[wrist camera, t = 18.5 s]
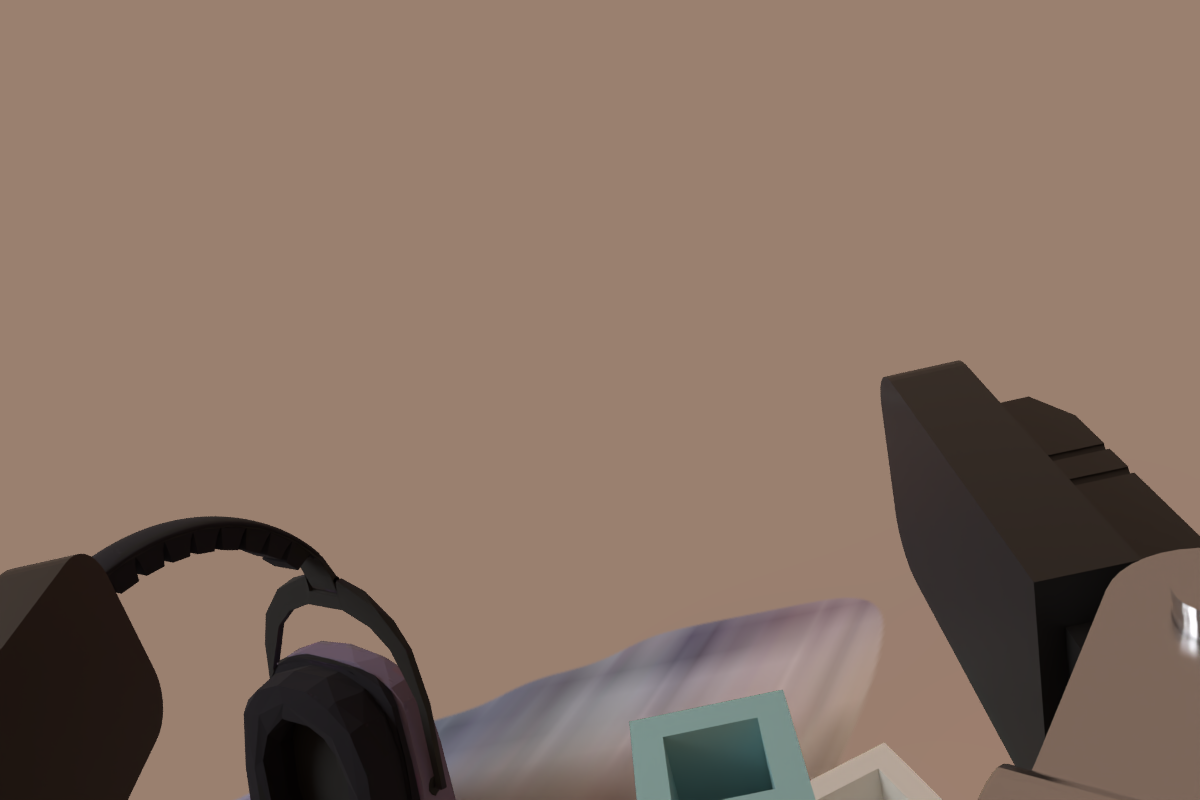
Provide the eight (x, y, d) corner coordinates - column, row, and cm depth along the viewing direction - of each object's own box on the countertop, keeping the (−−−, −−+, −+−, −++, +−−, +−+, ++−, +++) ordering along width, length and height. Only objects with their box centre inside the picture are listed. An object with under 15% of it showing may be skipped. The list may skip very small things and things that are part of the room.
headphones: (511, 837, 48) (369, 441, 39) (225, 1230, 35) (-67, 772, 27) (356, 787, 53) (202, 428, 45) (59, 1116, 40) (-229, 702, 32)
